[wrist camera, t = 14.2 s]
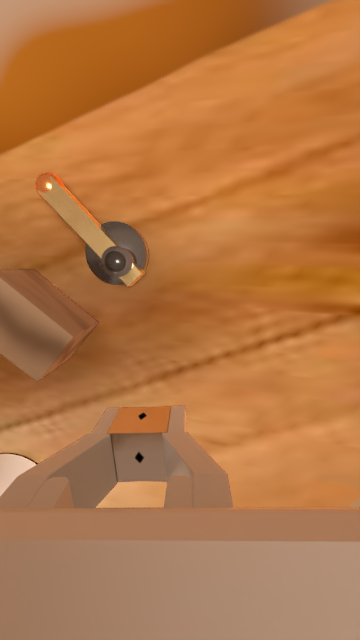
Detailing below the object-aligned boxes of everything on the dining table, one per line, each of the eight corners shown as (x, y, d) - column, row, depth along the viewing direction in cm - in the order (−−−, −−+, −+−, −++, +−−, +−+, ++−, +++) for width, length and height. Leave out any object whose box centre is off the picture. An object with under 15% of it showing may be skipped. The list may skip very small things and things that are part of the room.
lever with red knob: (163, 258, 34) (156, 256, 28) (124, 297, 36) (109, 303, 29) (77, 164, 32) (49, 140, 26) (39, 209, 34) (5, 195, 27)
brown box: (68, 359, 38) (37, 382, 31) (-3, 302, 37) (-54, 311, 29) (98, 322, 37) (73, 337, 29) (25, 262, 36) (-21, 260, 28)
